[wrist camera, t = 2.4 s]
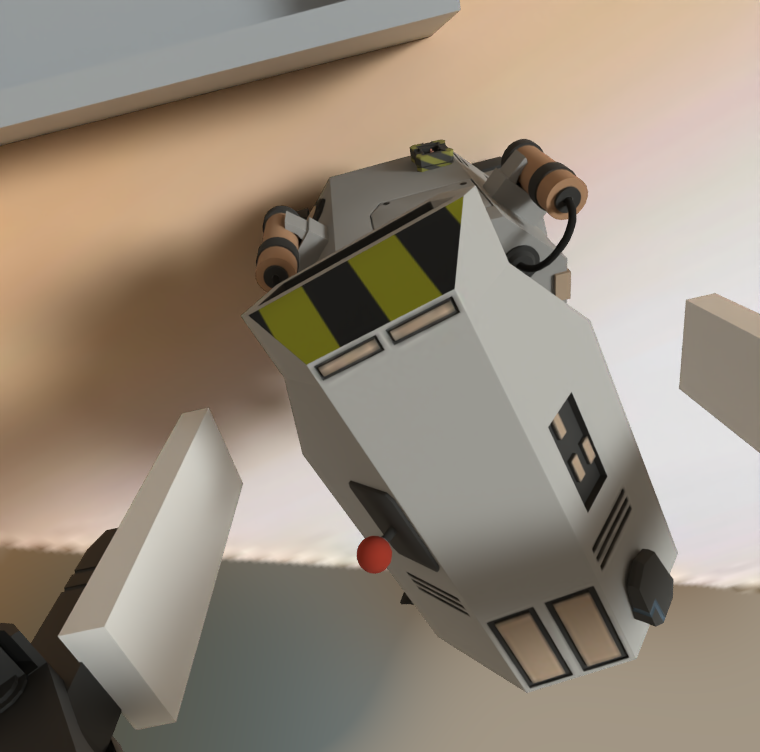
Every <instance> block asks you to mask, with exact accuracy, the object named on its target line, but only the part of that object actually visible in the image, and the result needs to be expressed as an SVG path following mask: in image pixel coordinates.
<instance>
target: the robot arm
mask: <svg viewBox="0 0 760 752" xmlns="http://www.w3.org/2000/svg"><path fill="white" fill-rule="evenodd" d="M679 389H680V390H681V391H683V392H684V393H685V394H686V395H688V396H689V397H690V398H691V399H693V400H694V401H695V402H696V403H698V404H699V405H700V406H702V407H703V408H704V409H705V410H707V411H708V412H709V413H710V414H712V415H713V416H714V417H715V418H717V419H718V420H719V421H720V422H722V423H723V424H724V425H725V426H727V427H728V428H729V429H730V430H732V431H733V432H734V433H735V434H737V435H738V436H739V437H740V438H742V439H743V440H744V441H745V442H747V443H748V444H749V445H750V446H752V447H753V448H754V449H755V450H757V451H758V452H759V453H760V314H759V313H757V312H754V311H752V310H750V309H748V308H746V307H744V306H742V305H739V304H737V303H735V302H733V301H731V300H729V299H726V298H724V297H722V296H720V295H718V294H716V293H714V294H710V295H705V296H701V297H697V298H692V299H688V300H686V307H685V320H684V332H683V345H682V358H681V371H680V384H679ZM242 485H243V483H242V480H241V478H240V476H239V474H238V471H237V469H236V467H235V465H234V463H233V460H232V458H231V456H230V454H229V451H228V449H227V447H226V445H225V443H224V440H223V438H222V436H221V434H220V431H219V429H218V427H217V425H216V423H215V420H214V418H213V416H212V414H211V411H210V409H209V407H208V408H204V409H199V410H195V411H190V412H186V413H182V414H181V416H180V418H179V420H178V422H177V423H176V425H175V427H174V429H173V431H172V432H171V434H170V436H169V438H168V439H167V441H166V443H165V445H164V447H163V448H162V450H161V452H160V454H159V456H158V457H157V459H156V461H155V463H154V465H153V466H152V468H151V470H150V472H149V474H148V475H147V477H146V479H145V481H144V483H143V484H142V486H141V488H140V490H139V492H138V493H137V495H136V497H135V499H134V500H133V502H132V504H131V506H130V508H129V509H128V511H127V513H126V515H125V517H124V518H123V520H122V522H121V524H120V526H119V527H118V528H115V529H110V530H106V531H105V532H104V533H103V534H102V535H101V536H100V537H99V538H98V539H97V540H96V541H95V542H94V543H93V544H92V545H91V546H90V547H89V548H88V549H87V551H86V552H85V554H84V556H83V557H82V559H81V561H80V563H79V564H78V566H77V568H76V569H75V574H74V575H72V576H71V577H70V579H69V581H68V582H67V584H66V586H65V588H64V589H65V591H64V592H62V593H61V594H60V596H59V597H58V599H57V601H56V602H55V604H54V606H53V607H52V609H51V611H50V612H49V614H48V616H47V617H46V619H45V621H44V622H43V624H42V626H41V627H40V629H39V631H38V632H37V634H36V636H35V637H34V639H33V641H32V642H31V643H30V642H29V641H28V640H27V639H26V638H25V637H24V635H23V634H22V633H21V632H20V631H19V630H18V629H17V628H16V626H15V625H14V624H9V623H8V624H7V623H0V752H123V750H122V748H121V746H120V744H119V743H118V742H117V740H116V739H115V738H114V737H113V736H112V735H113V732H114V730H115V727H116V724H117V721H118V719H119V717H120V714H121V713H122V714H123V715H124V716H125V718H126V719H127V720H128V721H129V722H130V724H131V725H132V726H133V727H134V728H135V729H136V730H137V729H142V728H147V727H152V726H157V725H163V724H168V723H172V722H176V720H177V716H178V713H179V709H180V706H181V702H182V699H183V695H184V691H185V688H186V684H187V681H188V677H189V674H190V670H191V667H192V663H193V660H194V656H195V652H196V649H197V645H198V642H199V638H200V634H201V631H202V627H203V624H204V620H205V617H206V613H207V609H208V606H209V603H210V599H211V595H212V592H213V588H214V585H215V581H216V577H217V574H218V571H219V567H220V563H221V560H222V556H223V553H224V549H225V546H226V542H227V538H228V535H229V531H230V528H231V524H232V521H233V517H234V514H235V510H236V506H237V503H238V499H239V496H240V492H241V489H242Z"/></svg>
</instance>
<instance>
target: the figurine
mask: <svg viewBox="0 0 760 752" xmlns="http://www.w3.org/2000/svg"><path fill="white" fill-rule="evenodd" d="M410 153H411V156H407V157H404V158H400V159H396V160H393V161H389V162H385V163H381V164H378V165H374V166H370V167H367V168H363V169H359V170H356V171H352V172H348V173H345V174H341V175H337V176H334V177H330V178H329V180H328V182H327V184H326V186H325V187H324V189H323V191H322V193H321V195H320V197H319V199H318V200H317V202H316V204H315V205H314V207H313V208H312V210H311V212H310V213H309V209H308V208H307V209H303V210H299V211H295V210H293V209H292V208H290V207H287V206H276V207H274V208H272V209H270V210H269V211H268V212H267V214H266V215H265V218H264V223H263V233H264V235H263V240H262V244H261V246H260V247H259V250H258V255H257V260H256V266H257V268H256V273H255V275H256V280H257V283H258V284H259V286H260V287H261V288H262V289H263V290H265V291H266V292H268V293H267V294H265V295H264V296H263V297H262V298H261V299H260V300H258V301H257V302H256V303H255V304H254V305H253V306H252V307H250V308H249V309H248V310H247V311H246V312H245V313H243V314H242V315H241V317H242V318H243V320H244V321H245V323H246V324H247V325H248V327H249V328H250V330H251V331H252V333H253V334H254V335H255V337H256V338H257V340H258V341H259V343H260V344H261V345H262V347H263V348H264V350H265V351H266V353H267V354H268V355H269V357H270V358H271V360H272V361H273V362H274V364H275V365H276V367H277V368H278V370H279V371H280V372H281V374H282V375H283V377H284V379H285V383H286V387H287V391H288V395H289V400H290V404H291V408H292V412H293V416H294V420H295V425H296V429H297V433H298V437H299V441H300V445H301V449H302V454H303V455H304V457H305V458H306V460H307V461H308V462H309V464H310V465H311V466H312V468H313V469H314V470H315V472H316V473H317V474H318V476H319V477H320V478H321V480H322V481H323V482H324V484H325V485H326V487H327V488H328V489H329V491H330V492H331V493H332V495H333V496H334V497H335V499H336V500H337V501H338V503H339V504H340V505H341V507H342V508H343V509H344V511H345V512H346V514H347V515H348V516H349V518H350V519H351V520H352V522H353V523H354V524H355V526H356V527H357V528H358V530H359V531H360V532H361V534H362V535H363V536H364V538H365V539H364V540H363V541H362V542H361V543H360V545H359V546H358V549H357V560H358V563H359V565H360V566H361V568H363V569H364V570H365V571H367V572H369V573H380V572H382V571H384V570H385V569H386V568H387V569H388V570H389V572H390V573H391V574H392V576H393V577H394V578H395V580H396V581H397V582H398V584H399V585H400V586H401V588H402V589H403V590H404V594H403V596H402V599H401V602H400V603H401V604H412V605H415V607H416V608H417V609H418V611H419V612H420V613H421V615H422V616H423V617H424V619H425V620H426V621H427V623H428V624H429V626H430V627H431V628H432V629H433V631H434V632H435V634H436V635H437V636H438V637H439V638H441V639H442V640H444V641H445V642H447V643H449V644H450V645H452V646H453V647H455V648H456V649H458V650H460V651H461V652H463V653H464V654H466V655H468V656H469V657H471V658H472V659H474V660H476V661H477V662H479V663H481V664H482V665H483V666H485V667H487V668H488V669H490V670H491V671H493V672H495V673H496V674H498V675H499V676H501V677H503V678H504V679H506V680H507V681H509V682H510V683H512V684H514V685H515V686H517V687H519V688H520V689H522V690H523V691H525V692H526V693H527V692H531V691H534V690H537V689H541V688H543V687H547V686H550V685H554V684H557V683H560V682H563V681H567V680H570V679H573V678H576V677H580V676H583V675H586V674H589V673H593V672H596V671H599V670H602V669H605V668H609V667H612V666H615V665H618V664H622V663H625V662H628V661H631V660H634V659H636V658H637V656H638V653H639V650H640V648H641V646H642V643H643V641H644V638H645V636H646V633H647V630H648V628H649V625H653V626H658V625H660V624H662V623H664V620H665V617H666V615H667V612H668V609H669V606H670V604H671V601H672V598H673V578H672V577H671V575H670V572H671V569H672V567H673V564H674V562H675V559H676V557H677V554H678V552H677V549H676V547H675V544H674V541H673V539H672V536H671V533H670V531H669V528H668V525H667V523H666V520H665V517H664V515H663V512H662V510H661V507H660V504H659V502H658V499H657V496H656V494H655V491H654V488H653V486H652V483H651V480H650V478H649V475H648V473H647V470H646V467H645V465H644V462H643V459H642V457H641V454H640V451H639V449H638V446H637V443H636V441H635V438H634V435H633V433H632V430H631V428H630V425H629V422H628V420H627V417H626V414H625V412H624V409H623V406H622V404H621V401H620V398H619V396H618V393H617V390H616V388H615V385H614V383H613V380H612V377H611V375H610V372H609V369H608V367H607V364H606V361H605V359H604V356H603V353H602V351H601V348H600V345H599V343H598V340H597V338H596V335H595V332H594V330H593V327H592V324H591V322H590V320H589V319H588V318H586V317H585V316H583V315H582V314H580V313H579V312H578V311H576V310H575V309H573V308H572V307H571V306H569V305H568V304H566V303H567V299H570V289H571V271H570V270H569V269H568V268H567V258H566V257H565V256H564V255H563V254H562V251H563V250H564V248H565V247H566V245H567V244H568V243H569V241H570V238H571V236H572V234H573V231H574V228H575V224H576V214H577V213H578V212H579V211H580V210H581V209H582V208H583V206H584V205H585V203H586V200H587V197H588V190H587V186H586V185H585V183H584V182H583V181H582V180H581V179H579V178H578V177H576V175H575V174H574V172H573V171H572V170H570V169H569V168H567V167H566V166H565V165H563V164H561V163H559V162H555V161H554V160H553V159H551V158H550V157H549V156H547V155H546V154H544V153H543V151H542V149H541V148H540V146H538V145H537V144H535V143H534V142H532V141H531V140H527V139H521V140H517V141H515V142H513V143H512V144H511V145H509V146H508V148H507V149H506V150H505V152H504V154H503V156H502V158H501V157H497V158H493V159H489V160H485V161H482V162H478V163H474V164H470V163H469V162H467V161H466V160H465V159H463V158H462V157H460V156H459V155H457V154H456V153H455V152H453V149H451V148H448V147H447V146H446V145H445V140H437V141H432V142H430V143H425V144H423V143H422V144H417V145H413V146H411V147H410ZM546 212H547V213H548V214H549V215H551V216H552V217H553V218H555V219H559V220H564V219H568V224H567V227H566V231H565V233H564V235H563V238H562V239H561V241H560V242H559V243H558V245H557V246H555V245H554V244H553V243H552V242H551V241H550V240H549V239H548V238H547V232H546V227H545V223H544V219H543V216H544V215H545V213H546Z"/></svg>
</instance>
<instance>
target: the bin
mask: <svg viewBox="0 0 760 752" xmlns="http://www.w3.org/2000/svg"><path fill="white" fill-rule="evenodd" d="M459 11H460V1H459V0H0V146H1V145H5V144H9V143H13V142H17V141H21V140H25V139H29V138H32V137H36V136H40V135H44V134H48V133H52V132H56V131H60V130H64V129H68V128H72V127H76V126H80V125H84V124H88V123H91V122H95V121H99V120H103V119H107V118H111V117H115V116H119V115H123V114H127V113H131V112H135V111H139V110H143V109H147V108H150V107H154V106H158V105H162V104H166V103H170V102H174V101H178V100H182V99H186V98H190V97H194V96H198V95H202V94H206V93H209V92H213V91H217V90H221V89H225V88H229V87H233V86H237V85H241V84H245V83H249V82H253V81H257V80H261V79H265V78H268V77H272V76H276V75H280V74H284V73H288V72H292V71H296V70H300V69H304V68H308V67H312V66H316V65H320V64H324V63H327V62H331V61H335V60H339V59H343V58H347V57H351V56H355V55H359V54H363V53H367V52H371V51H375V50H379V49H383V48H386V47H390V46H394V45H398V44H402V43H406V42H410V41H414V40H418V39H422V38H426V37H430V36H432V35H433V34H434V33H435V32H436V31H437V30H439V29H440V28H441V27H442V26H443V25H444V24H445V23H446V22H448V21H449V20H450V19H451V18H452V17H453V16H454V15H455V14H457V13H458V12H459Z"/></svg>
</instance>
